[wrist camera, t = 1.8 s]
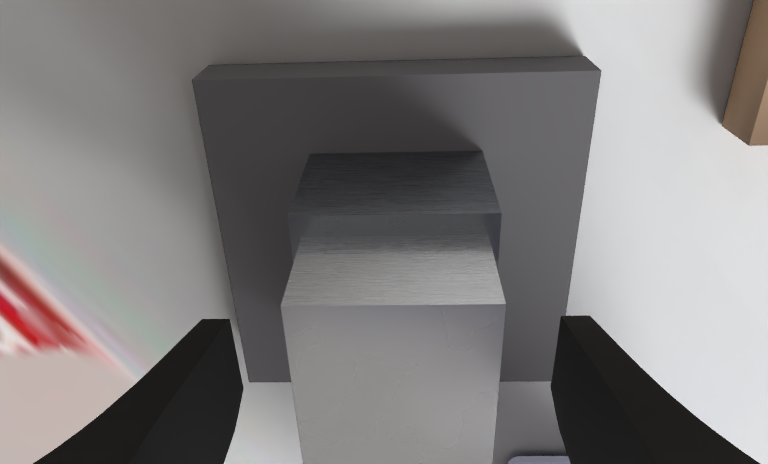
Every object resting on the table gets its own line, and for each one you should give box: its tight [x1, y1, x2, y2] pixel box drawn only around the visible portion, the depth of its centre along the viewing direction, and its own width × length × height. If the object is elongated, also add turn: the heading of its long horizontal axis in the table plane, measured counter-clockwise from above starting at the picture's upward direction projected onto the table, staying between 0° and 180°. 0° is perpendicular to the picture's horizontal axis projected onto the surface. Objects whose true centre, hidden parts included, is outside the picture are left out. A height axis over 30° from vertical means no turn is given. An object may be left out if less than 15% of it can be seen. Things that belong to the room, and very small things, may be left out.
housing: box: [281, 151, 506, 464], centre depth 14 cm, size 6×4×6 cm
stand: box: [192, 56, 601, 382], centre depth 18 cm, size 10×10×2 cm
